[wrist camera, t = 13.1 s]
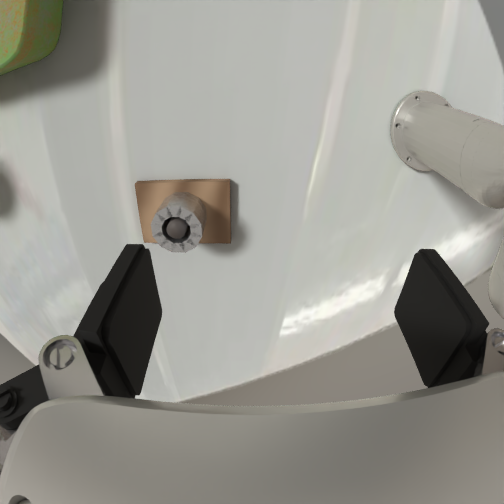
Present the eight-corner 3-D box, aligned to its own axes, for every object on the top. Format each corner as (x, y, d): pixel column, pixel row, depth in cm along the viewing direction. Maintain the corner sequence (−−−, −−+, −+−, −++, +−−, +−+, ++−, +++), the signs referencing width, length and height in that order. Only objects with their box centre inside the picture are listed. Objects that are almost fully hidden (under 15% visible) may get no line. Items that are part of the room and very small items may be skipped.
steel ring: (205, 191, 42) (200, 206, 38) (207, 234, 46) (203, 252, 42) (158, 192, 42) (148, 206, 38) (163, 234, 46) (155, 251, 42)
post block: (230, 179, 42) (227, 195, 37) (230, 239, 48) (228, 262, 43) (137, 181, 42) (122, 197, 37) (146, 238, 48) (134, 260, 42)
